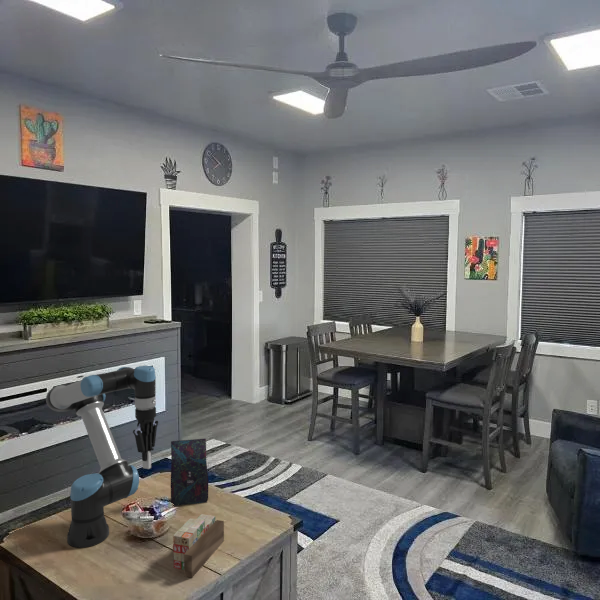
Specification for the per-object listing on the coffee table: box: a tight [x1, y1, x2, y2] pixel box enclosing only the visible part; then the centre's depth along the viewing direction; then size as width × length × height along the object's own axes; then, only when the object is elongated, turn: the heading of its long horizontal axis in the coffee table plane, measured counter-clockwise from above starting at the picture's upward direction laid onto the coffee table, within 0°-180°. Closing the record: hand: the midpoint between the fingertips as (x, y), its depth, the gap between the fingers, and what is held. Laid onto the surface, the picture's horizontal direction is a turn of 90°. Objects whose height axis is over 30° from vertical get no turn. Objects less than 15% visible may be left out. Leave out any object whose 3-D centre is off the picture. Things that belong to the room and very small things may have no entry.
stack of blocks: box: [172, 513, 216, 570], centre depth 189 cm, size 21×6×12 cm, turn 163°
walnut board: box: [183, 519, 225, 579], centre depth 186 cm, size 3×24×8 cm, turn 162°
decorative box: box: [170, 438, 209, 507], centre depth 228 cm, size 8×16×28 cm, turn 104°
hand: (146, 467), depth 194 cm, fingers closed
